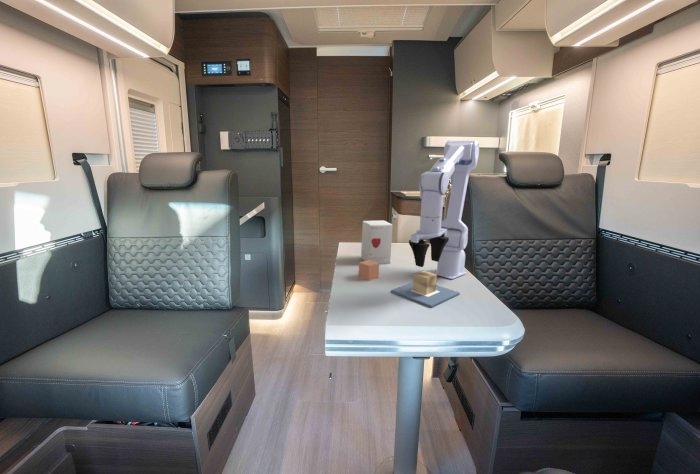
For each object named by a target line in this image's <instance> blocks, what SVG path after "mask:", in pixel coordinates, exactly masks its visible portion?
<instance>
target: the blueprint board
mask: <svg viewBox="0 0 700 474" xmlns="http://www.w3.org/2000/svg"><path fill="white" fill-rule="evenodd" d="M413 283H414V281H411V282H410V283H407V284H404V285H402V286H399V287H398V286H397V287H396V288H393V289H391V290H390V293H392V294H395V295H397V296H399V297H402V298H405V299H408V300H410V301H413V302H416V303H417V304H420V305H422V306H426V307H428V308H431V309H432V308H435V307H437V306H439V305H441V304H443V303H445V302H447V301H449V300H451V299H454V298H455V297H458V296H459V295H460V293H461V292H459V291H457V290H453V289H449V288H447V287H443V286H441V285H437V284H436V291H434V292H432V293H430V294H427V295H425V294H422V293H419V292H417V291H414V290H413Z"/></svg>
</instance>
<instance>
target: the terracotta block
mask: <svg viewBox="0 0 700 474" xmlns="http://www.w3.org/2000/svg"><path fill="white" fill-rule="evenodd" d="M379 272H380V264H379V263H377V262H374V261H371V260H367V261H364V260H363V261H360V262H358V278H360V279H362V280H365V281H372V280H375V279H379Z"/></svg>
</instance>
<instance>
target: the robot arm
mask: <svg viewBox="0 0 700 474" xmlns="http://www.w3.org/2000/svg"><path fill="white" fill-rule="evenodd" d="M479 156H480V144H479V141H478V140H476V139H474V140H447V141H446V142H445V144H444V147H443V156H442V157H439V159H437V160H436V162H435V163H434V164H433V166H432V167H430V170H428V171H425V172H423V173H421V175H420V177H419V181H418V188H419V198H420V200H421V202H420V203H421V205H420V218H419V229H416V231H415V232H414V233H412V234H410V239H409V240H408V244H409V246H410V248H411V250H412V254H413V257H414V263H415V266H416V267H420V268H423V267H424V265H425V261H426V255H427V252H428V250H429V247H430V255H431V256H430V258H431V261H434V262H437V263H436V270H433V271H431V272H430V273H433V274H436V275H437V276H439V277H443V278H445V279H449V280H454V279H457V278H458V277H461V276H464V275H466V274H467V272H466V271H465V262H466V252H465V251H464V250H465V249H466V248H467V245H468V242H469V241H468V240H469V229H468V226H467V225H466V224H465V223H464V222H463V221H462V216H463V211H464V207H465V206H464V205H465V200H466V193H467V187H468V183H469V178H470V177H469V176H470V174H471V171H473V170H475V169H476V168H477V166H478V162H479V161H478V160H479ZM452 175H453V179H452V184H451V189H450V195H449V199H448V200H449V201H448V206H447V207H448V208H447V212H446V217H445V219H443V206H444V195H445V193H447V191H448V186H449V183H450V178H451V177H452ZM442 219H443V220H442ZM425 240H429V243H427V242H426V243H425Z"/></svg>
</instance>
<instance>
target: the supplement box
mask: <svg viewBox="0 0 700 474" xmlns="http://www.w3.org/2000/svg"><path fill="white" fill-rule="evenodd" d="M361 230H362V232H361V253H360V259H361V260H363V261H367V260H371V261H374V262H377V263H379V265H386V264H387V265H388V264H389V265H390V264H391V259H392V258H391V257H392V242H393V241H392V239H393V223H390V222H388V221H386V220H383V219H382V220H362V229H361Z"/></svg>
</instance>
